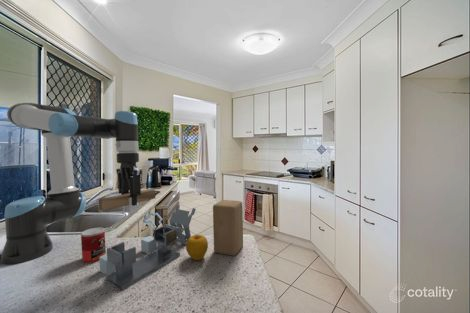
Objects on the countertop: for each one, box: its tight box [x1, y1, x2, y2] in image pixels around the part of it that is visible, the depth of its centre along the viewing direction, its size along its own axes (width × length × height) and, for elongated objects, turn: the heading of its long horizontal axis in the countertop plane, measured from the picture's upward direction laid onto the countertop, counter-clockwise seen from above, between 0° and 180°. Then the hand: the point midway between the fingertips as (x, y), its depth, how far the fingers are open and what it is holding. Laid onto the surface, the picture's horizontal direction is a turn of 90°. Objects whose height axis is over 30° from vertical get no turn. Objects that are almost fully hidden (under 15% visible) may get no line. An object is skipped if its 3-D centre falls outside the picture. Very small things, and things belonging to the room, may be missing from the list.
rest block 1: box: [98, 253, 116, 276], centre depth 72 cm, size 5×4×5 cm
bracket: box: [163, 204, 197, 246], centre depth 94 cm, size 13×10×15 cm
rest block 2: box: [140, 235, 158, 255], centre depth 85 cm, size 5×4×5 cm
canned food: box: [80, 226, 107, 264], centre depth 80 cm, size 8×8×11 cm
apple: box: [185, 234, 209, 261], centre depth 78 cm, size 8×8×9 cm
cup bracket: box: [105, 225, 181, 291], centre depth 73 cm, size 10×23×11 cm, turn 148°
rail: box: [98, 188, 156, 212], centre depth 77 cm, size 4×20×4 cm, turn 148°
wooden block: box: [212, 199, 244, 257], centre depth 85 cm, size 10×10×20 cm
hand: (130, 212), depth 77 cm, fingers closed on rail, 4 cm apart
